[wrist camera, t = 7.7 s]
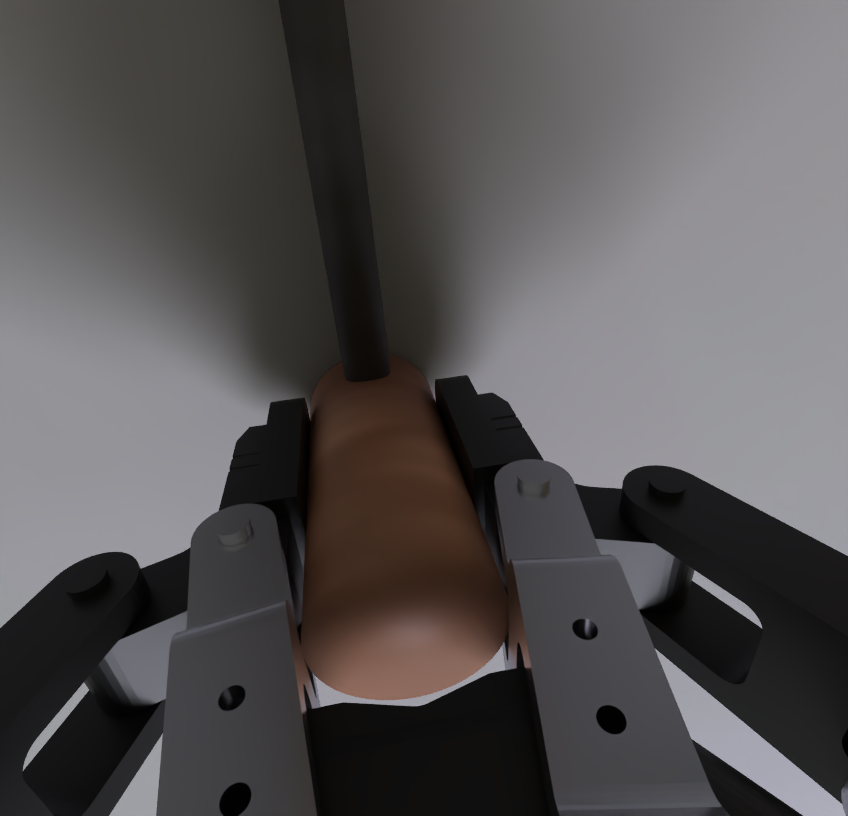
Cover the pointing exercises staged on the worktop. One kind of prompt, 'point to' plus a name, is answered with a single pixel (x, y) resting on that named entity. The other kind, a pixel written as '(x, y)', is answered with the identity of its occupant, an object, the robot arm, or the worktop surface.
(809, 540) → the robot arm
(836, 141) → the worktop surface
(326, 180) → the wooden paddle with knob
